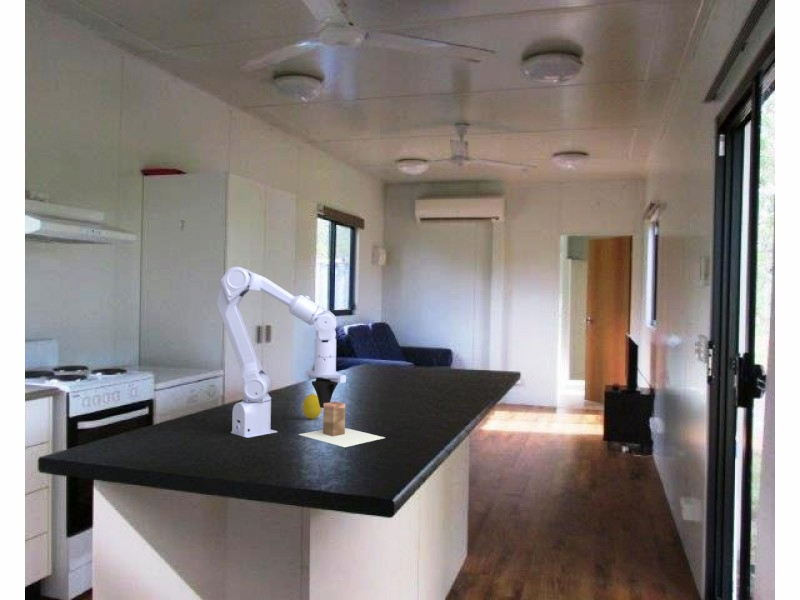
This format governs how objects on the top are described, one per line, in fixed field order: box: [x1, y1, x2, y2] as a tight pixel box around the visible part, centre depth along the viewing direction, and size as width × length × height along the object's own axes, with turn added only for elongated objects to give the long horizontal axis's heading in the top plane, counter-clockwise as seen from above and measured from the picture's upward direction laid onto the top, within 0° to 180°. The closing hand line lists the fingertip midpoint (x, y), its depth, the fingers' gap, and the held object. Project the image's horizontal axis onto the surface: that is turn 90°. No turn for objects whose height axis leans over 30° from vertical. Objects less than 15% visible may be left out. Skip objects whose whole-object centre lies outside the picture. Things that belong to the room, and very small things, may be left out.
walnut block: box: [322, 401, 346, 437], centre depth 150 cm, size 4×4×8 cm
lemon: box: [302, 392, 323, 420], centre depth 169 cm, size 6×6×8 cm
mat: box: [298, 427, 386, 448], centre depth 148 cm, size 14×18×1 cm
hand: (324, 407), depth 153 cm, fingers closed
